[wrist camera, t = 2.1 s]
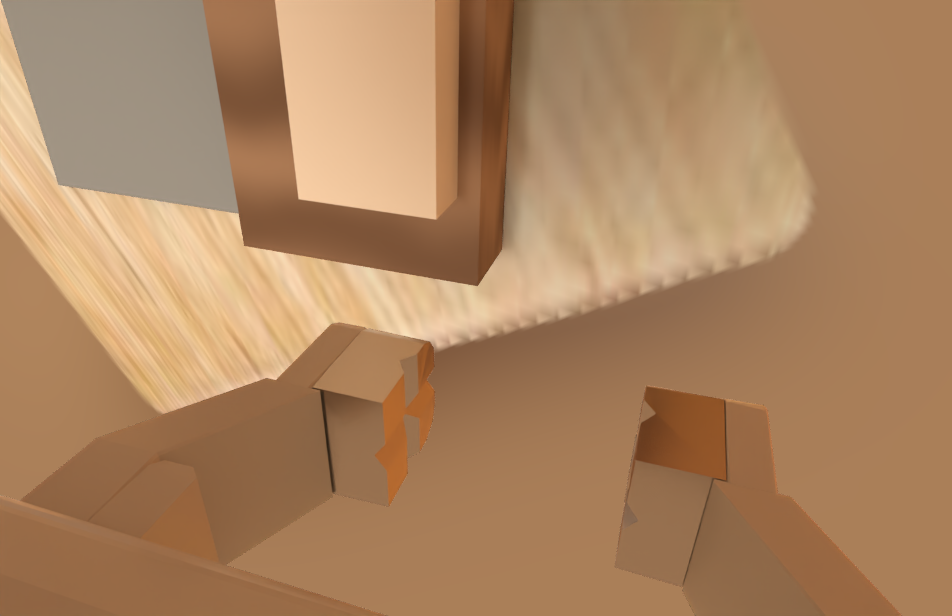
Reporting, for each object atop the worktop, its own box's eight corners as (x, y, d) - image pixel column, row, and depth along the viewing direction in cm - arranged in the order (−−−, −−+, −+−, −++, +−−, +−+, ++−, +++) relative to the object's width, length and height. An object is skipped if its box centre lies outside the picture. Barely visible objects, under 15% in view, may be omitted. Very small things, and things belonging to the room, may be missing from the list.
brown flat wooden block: (241, -142, 27) (176, -153, 24) (521, -141, 24) (490, -153, 21) (288, 216, 35) (244, 245, 32) (501, 249, 32) (477, 285, 29)
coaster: (309, -24, 25) (272, -20, 23) (459, -16, 23) (434, -11, 21) (328, 179, 29) (298, 199, 27) (457, 197, 27) (436, 219, 25)
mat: (-25, -118, 31) (-37, -119, 31) (225, -114, 28) (216, -115, 27) (66, 181, 39) (58, 184, 38) (271, 213, 35) (265, 217, 35)
